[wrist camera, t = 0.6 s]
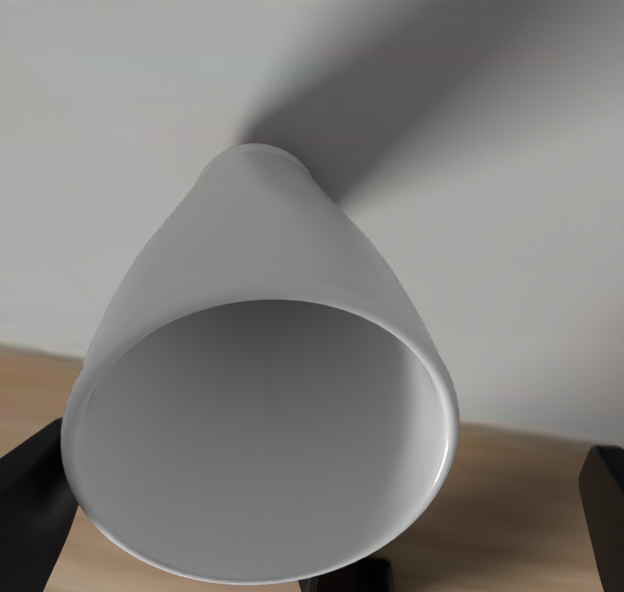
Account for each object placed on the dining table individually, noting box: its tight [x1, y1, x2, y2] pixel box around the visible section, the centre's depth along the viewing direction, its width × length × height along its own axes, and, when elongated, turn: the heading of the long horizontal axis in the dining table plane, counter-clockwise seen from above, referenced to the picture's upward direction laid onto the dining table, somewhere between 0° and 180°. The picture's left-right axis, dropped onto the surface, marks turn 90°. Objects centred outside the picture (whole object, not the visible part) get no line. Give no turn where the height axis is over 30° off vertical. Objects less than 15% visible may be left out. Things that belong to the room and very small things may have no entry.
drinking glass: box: [60, 143, 460, 585], centre depth 15 cm, size 7×7×15 cm
